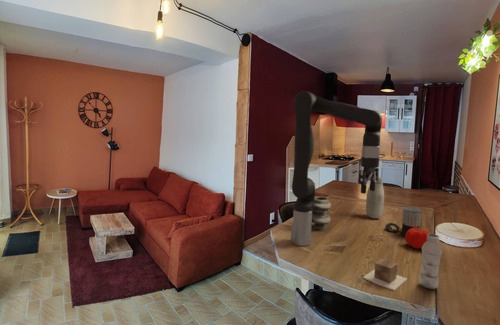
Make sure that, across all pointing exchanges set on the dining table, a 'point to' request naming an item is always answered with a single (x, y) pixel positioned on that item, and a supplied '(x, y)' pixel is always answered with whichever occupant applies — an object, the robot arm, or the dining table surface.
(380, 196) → the white bottle
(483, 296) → the dining table surface
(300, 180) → the robot arm
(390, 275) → the cube
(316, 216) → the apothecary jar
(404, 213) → the milk frother
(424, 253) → the plastic bottle
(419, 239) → the tomato
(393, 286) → the plate
